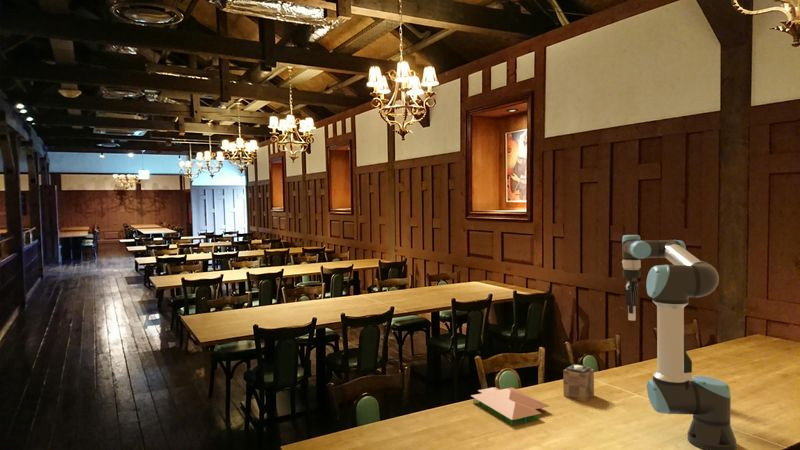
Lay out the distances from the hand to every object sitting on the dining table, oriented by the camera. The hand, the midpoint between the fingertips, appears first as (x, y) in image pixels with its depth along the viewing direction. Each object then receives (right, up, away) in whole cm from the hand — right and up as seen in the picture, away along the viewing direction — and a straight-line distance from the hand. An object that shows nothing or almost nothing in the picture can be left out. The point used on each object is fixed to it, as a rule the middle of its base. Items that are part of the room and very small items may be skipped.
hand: (631, 320), depth 232 cm
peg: (-24, -33, +1) cm, 41 cm away
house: (-58, -37, -12) cm, 70 cm away
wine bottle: (+21, -34, -4) cm, 40 cm away
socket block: (-24, -35, +1) cm, 42 cm away
